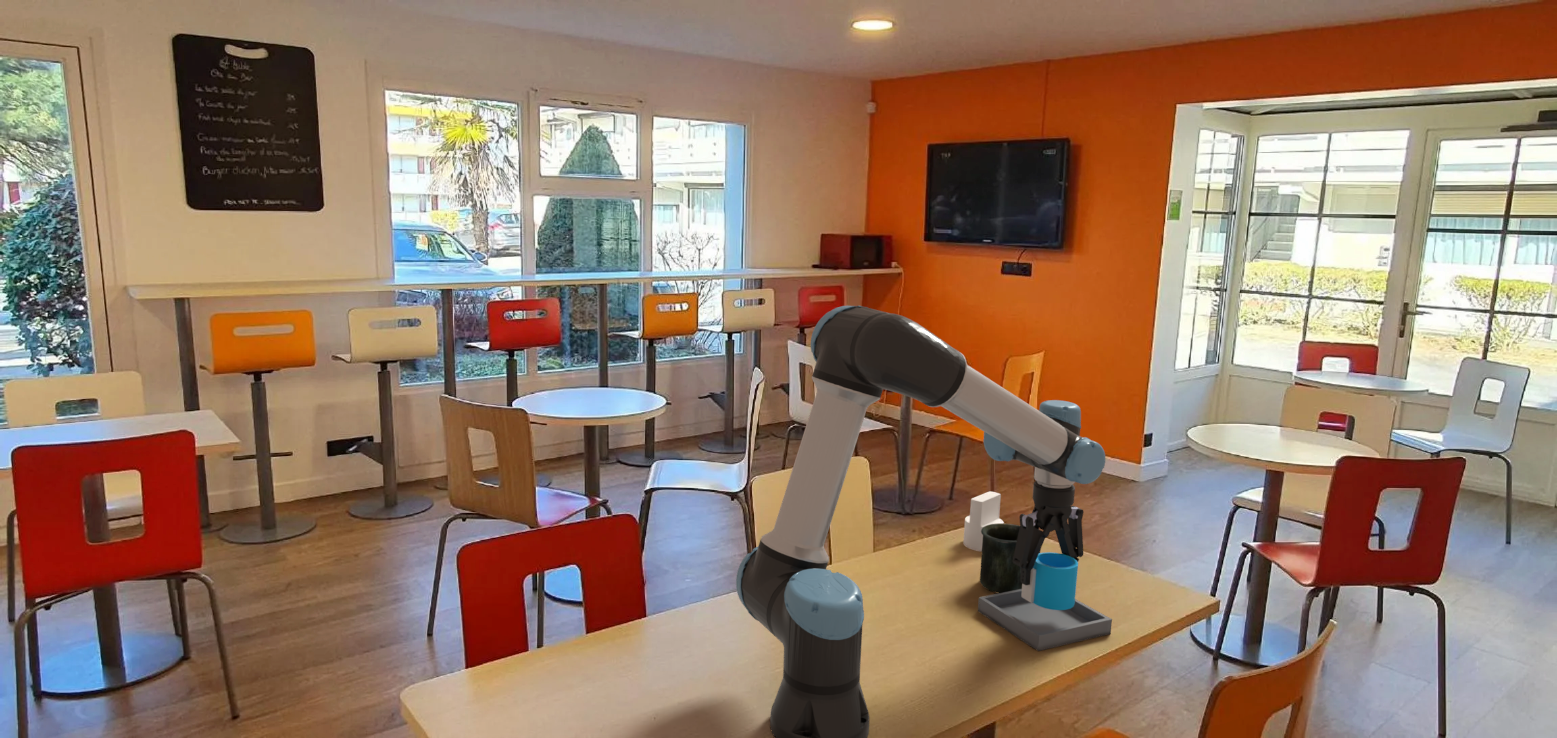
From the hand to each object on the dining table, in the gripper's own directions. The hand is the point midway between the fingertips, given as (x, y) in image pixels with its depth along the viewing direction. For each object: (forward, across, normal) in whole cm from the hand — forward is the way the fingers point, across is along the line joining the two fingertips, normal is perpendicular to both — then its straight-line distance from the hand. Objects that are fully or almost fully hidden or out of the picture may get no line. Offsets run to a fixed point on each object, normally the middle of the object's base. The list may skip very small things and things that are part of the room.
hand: (1045, 595), depth 178 cm
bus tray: (+6, 0, 0) cm, 6 cm away
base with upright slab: (+6, +15, +38) cm, 41 cm away
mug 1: (+6, +6, +17) cm, 19 cm away
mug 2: (0, 0, 0) cm, 0 cm away
